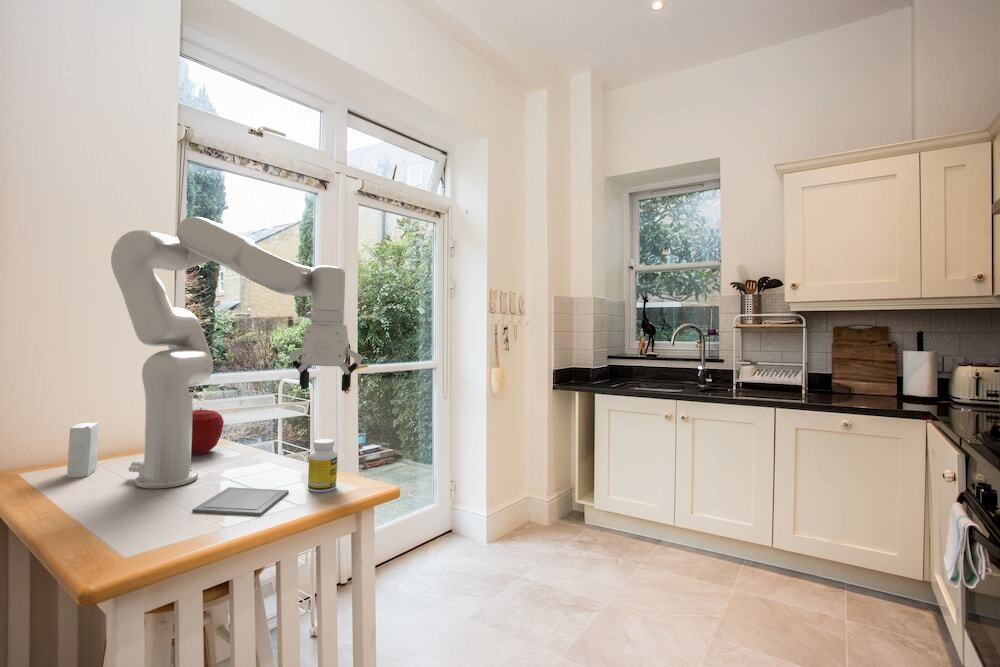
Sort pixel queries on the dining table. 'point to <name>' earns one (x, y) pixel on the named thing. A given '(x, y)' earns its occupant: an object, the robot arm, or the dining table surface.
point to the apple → (205, 430)
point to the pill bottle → (322, 466)
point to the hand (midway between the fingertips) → (324, 389)
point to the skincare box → (82, 450)
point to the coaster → (241, 501)
